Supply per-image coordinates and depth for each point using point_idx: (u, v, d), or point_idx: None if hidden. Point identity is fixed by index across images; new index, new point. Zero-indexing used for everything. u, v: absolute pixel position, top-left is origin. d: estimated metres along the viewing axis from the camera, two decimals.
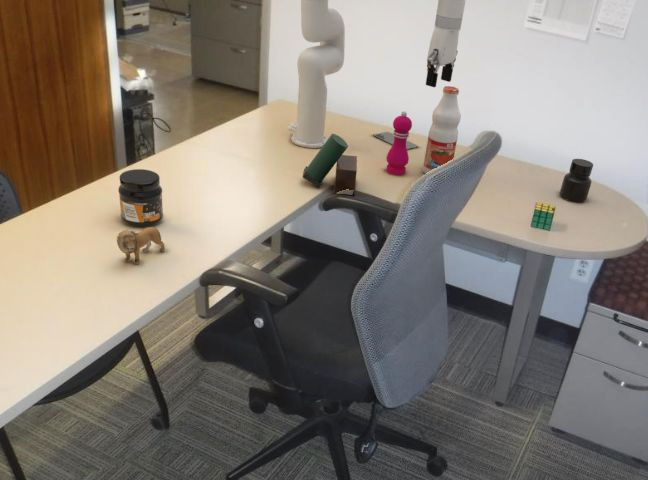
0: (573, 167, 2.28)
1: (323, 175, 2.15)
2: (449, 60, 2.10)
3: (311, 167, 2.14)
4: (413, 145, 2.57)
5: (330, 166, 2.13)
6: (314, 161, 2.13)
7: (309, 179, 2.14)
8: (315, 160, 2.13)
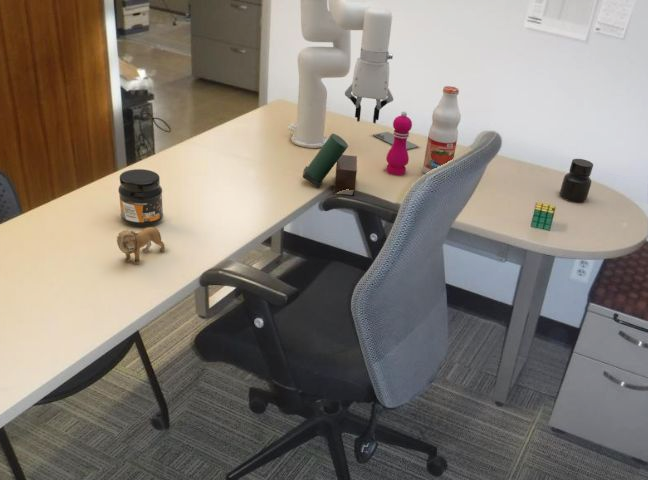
0: (573, 167, 2.28)
1: (323, 175, 2.15)
2: (371, 94, 2.02)
3: (311, 167, 2.14)
4: (413, 145, 2.57)
5: (330, 166, 2.13)
6: (314, 161, 2.13)
7: (309, 179, 2.14)
8: (315, 160, 2.13)
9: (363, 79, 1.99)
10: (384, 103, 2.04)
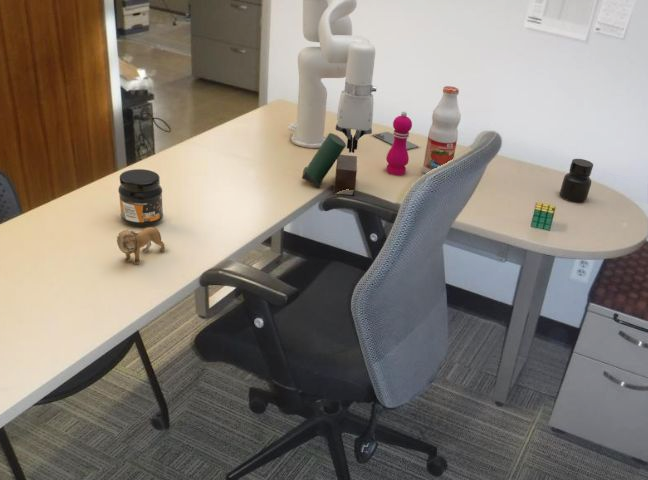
0: (573, 167, 2.28)
1: (322, 175, 2.15)
2: (355, 126, 2.07)
3: (310, 167, 2.14)
4: (413, 145, 2.57)
5: (329, 166, 2.13)
6: (313, 161, 2.13)
7: (308, 180, 2.15)
8: (314, 160, 2.13)
9: (348, 111, 2.04)
10: (362, 133, 2.09)
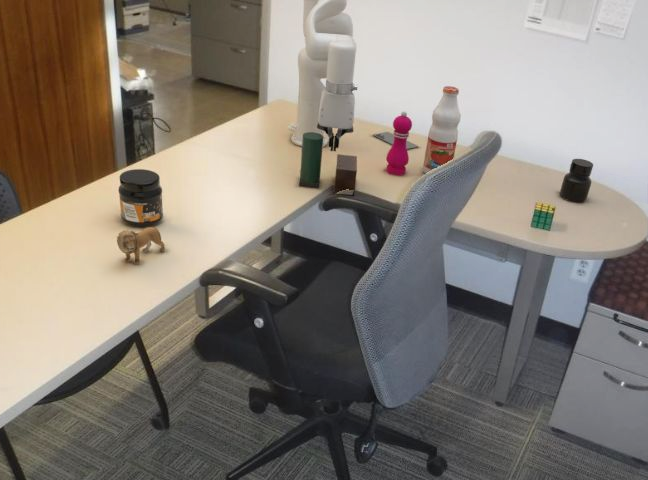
0: (573, 167, 2.28)
1: (316, 175, 2.14)
2: (337, 124, 2.06)
3: (301, 173, 2.15)
4: (413, 145, 2.57)
5: (317, 163, 2.13)
6: (301, 166, 2.14)
7: (305, 185, 2.15)
8: (302, 165, 2.13)
9: (329, 110, 2.04)
10: (343, 132, 2.09)
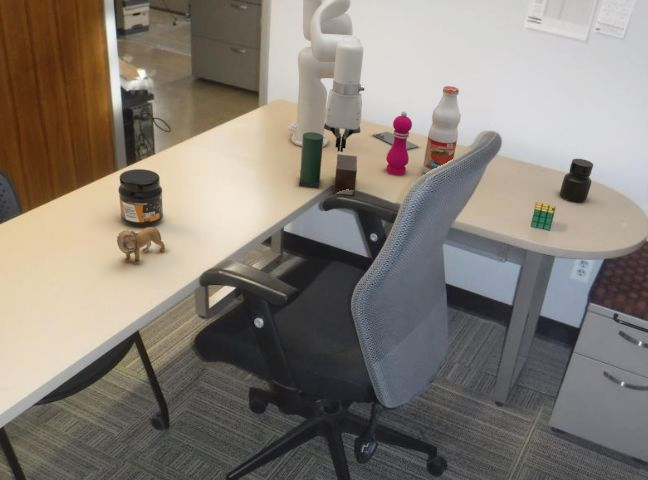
0: (573, 167, 2.28)
1: (316, 175, 2.14)
2: (344, 125, 2.06)
3: (301, 173, 2.15)
4: (413, 145, 2.57)
5: (317, 163, 2.13)
6: (301, 166, 2.14)
7: (305, 185, 2.15)
8: (302, 165, 2.13)
9: (336, 110, 2.04)
10: (350, 132, 2.09)
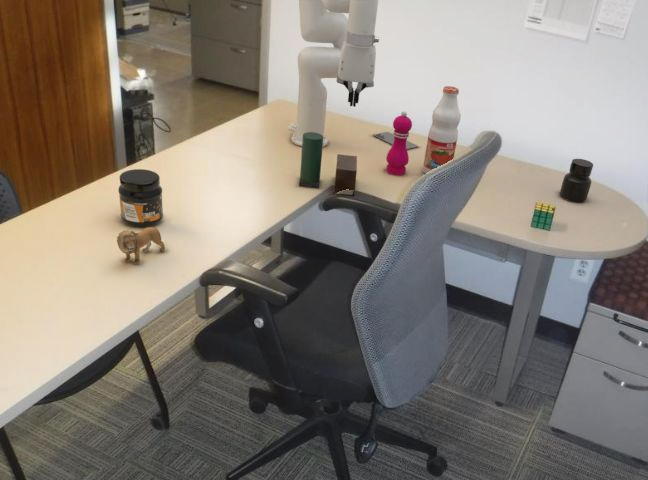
0: (573, 167, 2.28)
1: (316, 175, 2.14)
2: (357, 78, 2.02)
3: (301, 173, 2.15)
4: (413, 145, 2.57)
5: (317, 163, 2.13)
6: (301, 166, 2.14)
7: (305, 185, 2.15)
8: (302, 165, 2.13)
9: (349, 62, 1.99)
10: (364, 86, 2.04)
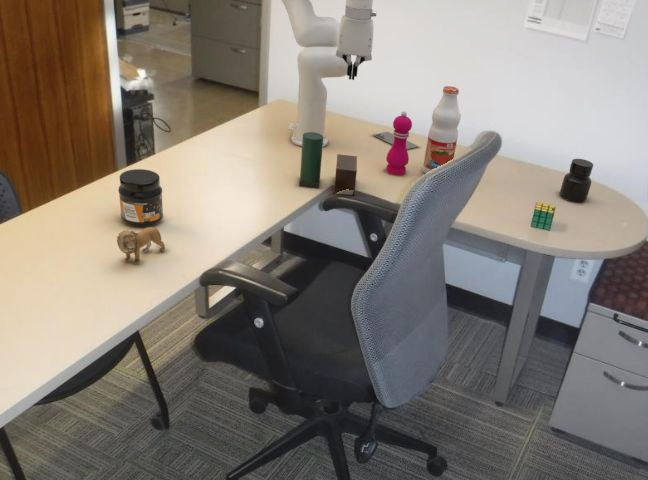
0: (573, 167, 2.28)
1: (316, 175, 2.14)
2: (355, 51, 2.09)
3: (301, 173, 2.15)
4: (413, 145, 2.57)
5: (317, 163, 2.13)
6: (301, 166, 2.14)
7: (305, 185, 2.15)
8: (302, 165, 2.13)
9: (348, 36, 2.06)
10: (362, 60, 2.11)
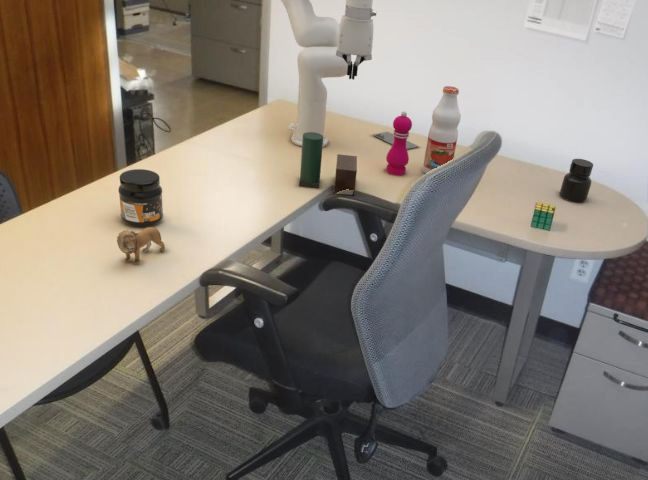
0: (573, 167, 2.28)
1: (316, 175, 2.14)
2: (356, 51, 2.09)
3: (301, 173, 2.15)
4: (413, 145, 2.57)
5: (317, 163, 2.13)
6: (301, 166, 2.14)
7: (305, 185, 2.15)
8: (302, 165, 2.13)
9: (348, 35, 2.06)
10: (362, 59, 2.11)
